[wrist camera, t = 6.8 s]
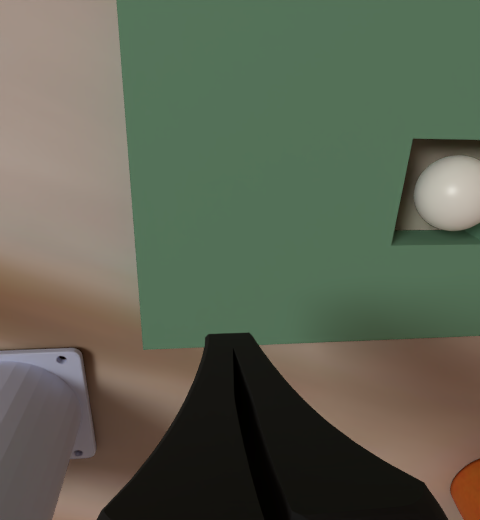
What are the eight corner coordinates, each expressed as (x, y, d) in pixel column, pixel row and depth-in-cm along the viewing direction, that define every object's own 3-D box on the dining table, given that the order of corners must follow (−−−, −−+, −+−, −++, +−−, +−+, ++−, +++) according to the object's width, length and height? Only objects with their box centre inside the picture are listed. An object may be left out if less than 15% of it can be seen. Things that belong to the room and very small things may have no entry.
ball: (464, 216, 22) (397, 211, 22) (487, 149, 20) (414, 144, 20) (496, 246, 19) (418, 240, 19) (526, 170, 17) (440, 164, 17)
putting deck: (146, 327, 23) (143, 349, 21) (122, -23, 16) (113, -34, 14) (470, 315, 25) (492, 335, 23) (567, 4, 18) (609, -3, 16)
